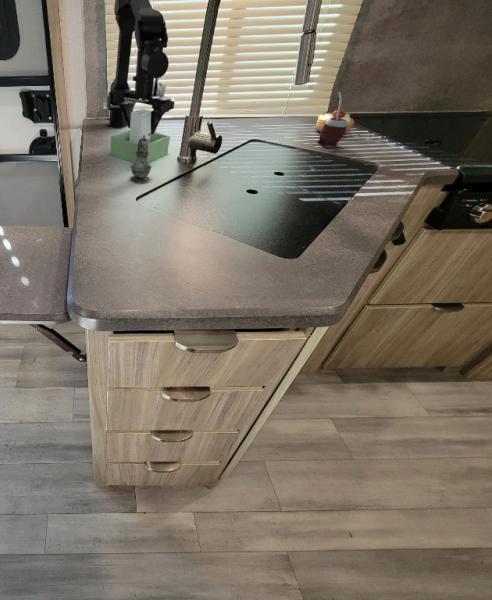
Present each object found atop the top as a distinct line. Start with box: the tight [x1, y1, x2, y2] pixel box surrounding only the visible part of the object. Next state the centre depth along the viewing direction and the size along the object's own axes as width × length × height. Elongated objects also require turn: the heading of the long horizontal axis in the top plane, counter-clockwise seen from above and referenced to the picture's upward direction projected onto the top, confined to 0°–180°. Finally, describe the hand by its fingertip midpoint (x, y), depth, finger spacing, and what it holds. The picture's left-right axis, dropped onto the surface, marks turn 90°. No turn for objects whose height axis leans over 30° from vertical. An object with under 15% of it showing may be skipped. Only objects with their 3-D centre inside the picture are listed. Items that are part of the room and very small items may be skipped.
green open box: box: [110, 129, 171, 164], centre depth 107 cm, size 14×14×6 cm
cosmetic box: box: [129, 108, 152, 143], centre depth 105 cm, size 6×4×12 cm
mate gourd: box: [316, 91, 347, 148], centre depth 111 cm, size 8×8×15 cm
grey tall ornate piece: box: [130, 135, 153, 184], centre depth 90 cm, size 6×6×12 cm
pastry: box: [316, 105, 355, 135], centre depth 123 cm, size 12×12×9 cm
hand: (141, 130), depth 104 cm, fingers open, 9 cm apart
